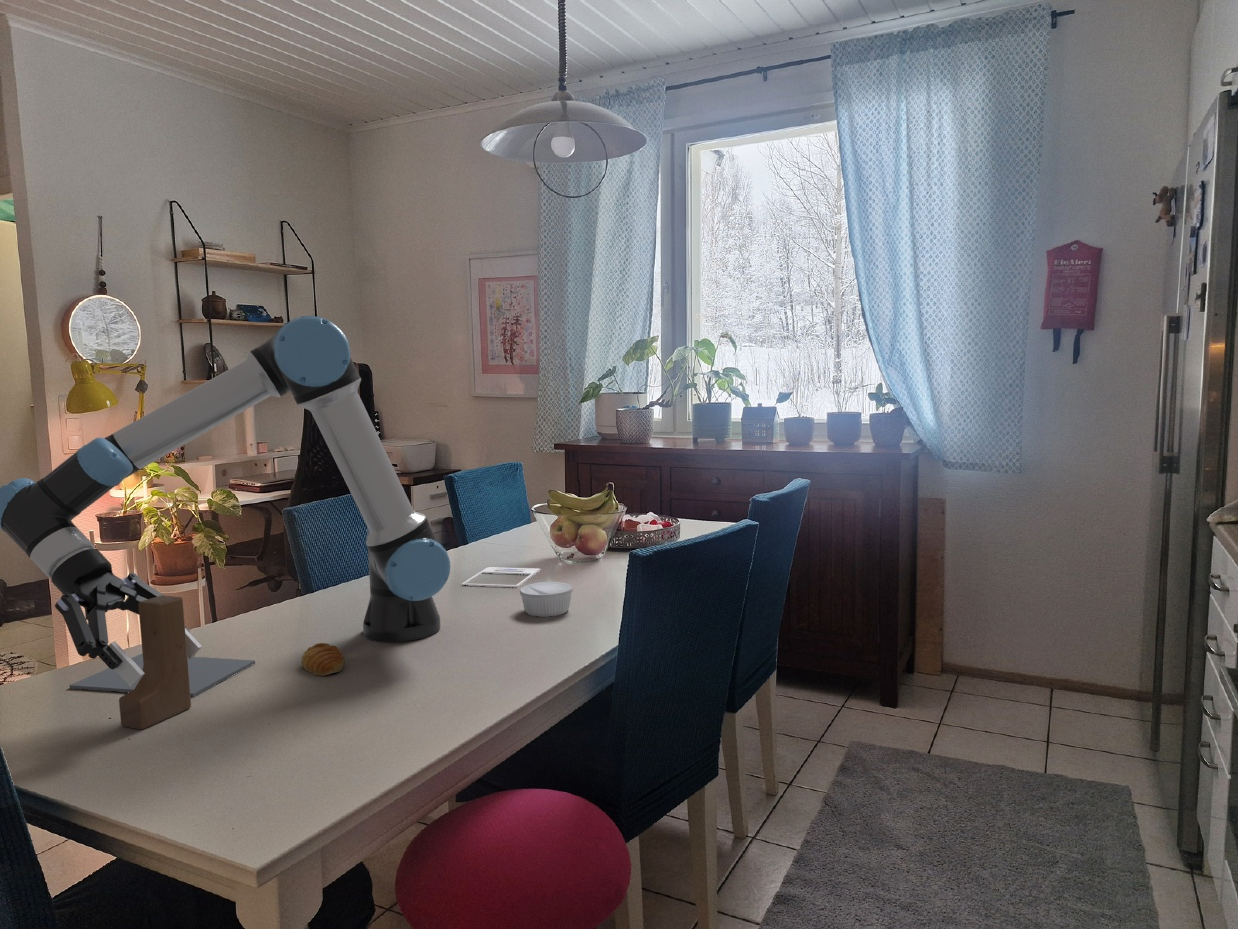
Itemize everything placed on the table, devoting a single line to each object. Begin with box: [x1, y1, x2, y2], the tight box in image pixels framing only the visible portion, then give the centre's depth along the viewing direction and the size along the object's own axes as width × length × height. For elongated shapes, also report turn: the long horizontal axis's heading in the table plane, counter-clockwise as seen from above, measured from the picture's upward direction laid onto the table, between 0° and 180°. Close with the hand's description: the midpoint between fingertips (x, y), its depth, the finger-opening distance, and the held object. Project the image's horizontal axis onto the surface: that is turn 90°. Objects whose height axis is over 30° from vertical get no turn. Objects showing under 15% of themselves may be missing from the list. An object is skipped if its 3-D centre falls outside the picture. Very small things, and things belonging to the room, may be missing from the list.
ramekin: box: [519, 581, 573, 618], centre depth 182 cm, size 11×11×5 cm
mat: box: [69, 653, 256, 698], centre depth 147 cm, size 24×16×1 cm, turn 78°
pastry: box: [301, 642, 345, 677], centre depth 149 cm, size 9×7×4 cm
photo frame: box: [460, 566, 541, 589], centre depth 213 cm, size 15×1×18 cm
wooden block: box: [118, 594, 192, 731], centre depth 128 cm, size 9×4×18 cm, turn 159°
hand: (168, 666), depth 128 cm, fingers open, 11 cm apart
